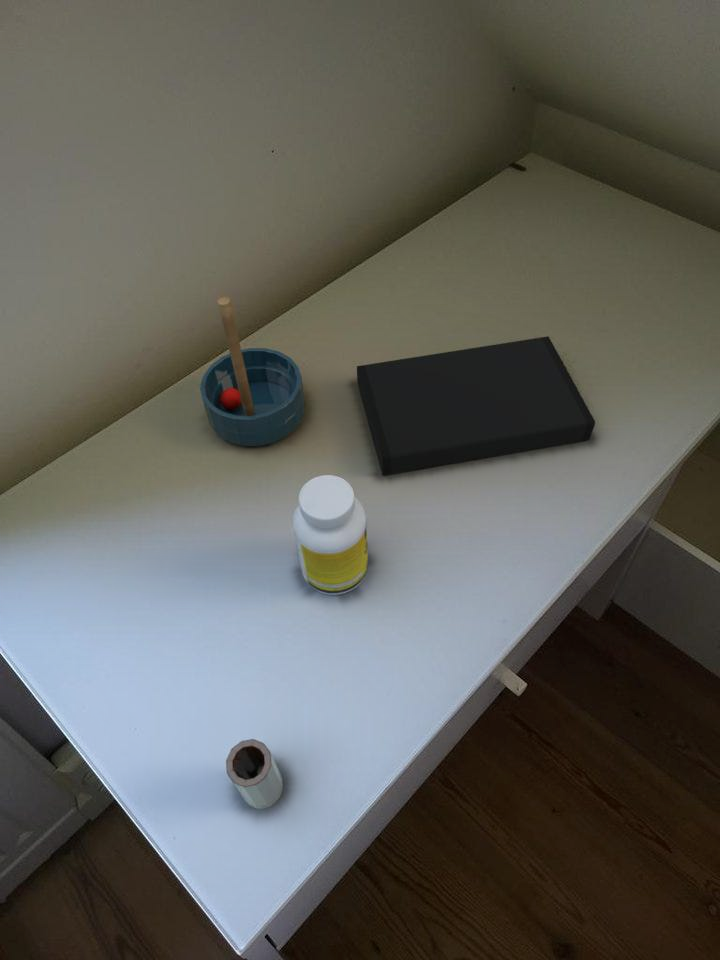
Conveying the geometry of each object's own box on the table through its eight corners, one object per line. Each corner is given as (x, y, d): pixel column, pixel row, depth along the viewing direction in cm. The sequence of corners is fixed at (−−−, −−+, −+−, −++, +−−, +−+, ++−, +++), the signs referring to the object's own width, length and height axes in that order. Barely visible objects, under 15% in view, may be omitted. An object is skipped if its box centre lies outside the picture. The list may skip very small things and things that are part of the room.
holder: (272, 815, 53) (259, 793, 48) (235, 800, 54) (218, 776, 49) (289, 774, 55) (278, 748, 50) (253, 760, 56) (238, 733, 50)
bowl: (281, 460, 75) (275, 429, 71) (192, 435, 77) (182, 404, 74) (319, 391, 81) (316, 360, 77) (236, 370, 84) (229, 339, 80)
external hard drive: (357, 383, 82) (356, 365, 79) (543, 354, 84) (548, 335, 81) (382, 476, 73) (382, 458, 71) (589, 440, 75) (596, 422, 73)
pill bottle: (373, 591, 65) (371, 522, 56) (305, 602, 64) (292, 535, 55) (362, 534, 69) (358, 461, 60) (298, 544, 68) (284, 472, 59)
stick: (252, 420, 78) (225, 305, 65) (242, 416, 78) (215, 302, 65) (257, 412, 78) (232, 298, 66) (248, 409, 79) (221, 295, 66)
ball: (227, 390, 76) (213, 391, 78) (233, 411, 77) (219, 412, 78) (243, 385, 78) (229, 386, 80) (248, 405, 79) (234, 407, 80)
